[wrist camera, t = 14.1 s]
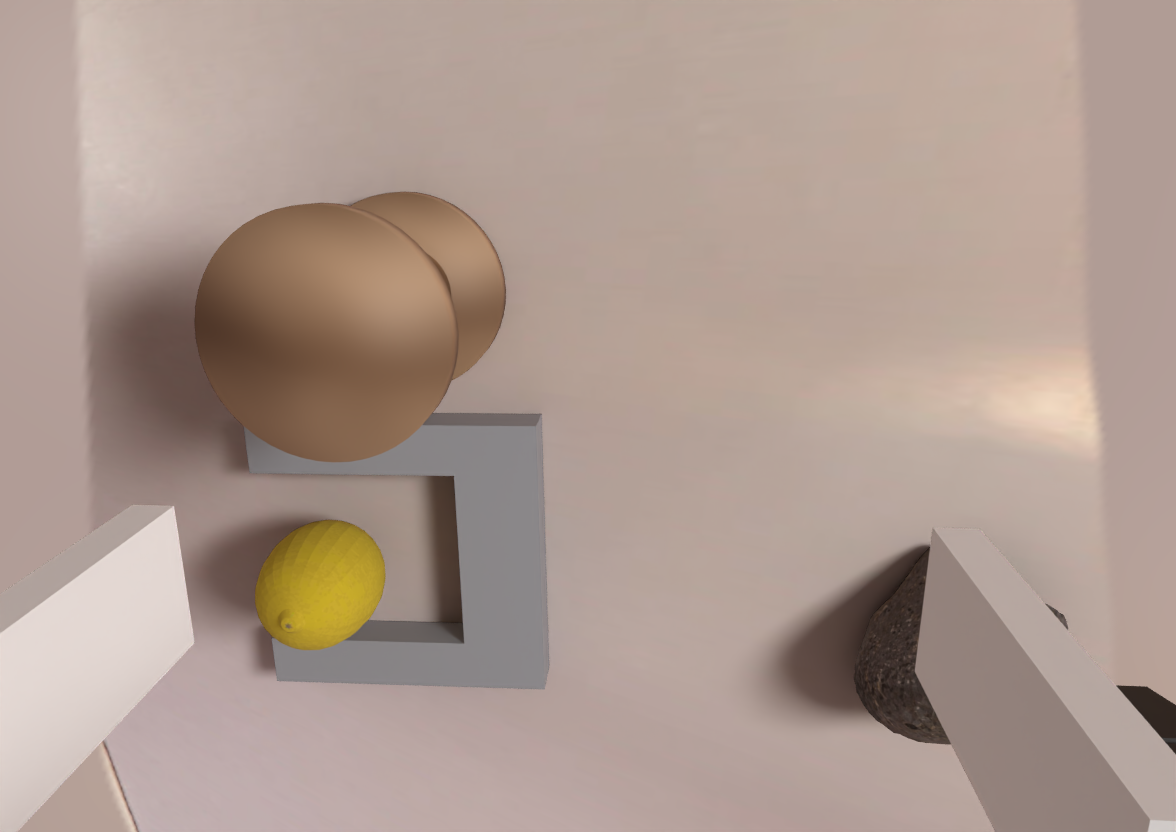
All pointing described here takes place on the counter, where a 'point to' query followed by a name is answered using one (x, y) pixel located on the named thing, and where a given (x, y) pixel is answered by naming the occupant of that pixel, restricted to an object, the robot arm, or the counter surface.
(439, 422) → the notch board
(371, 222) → the bobbin
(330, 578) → the lemon
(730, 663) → the counter surface
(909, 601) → the stone
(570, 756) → the counter surface
